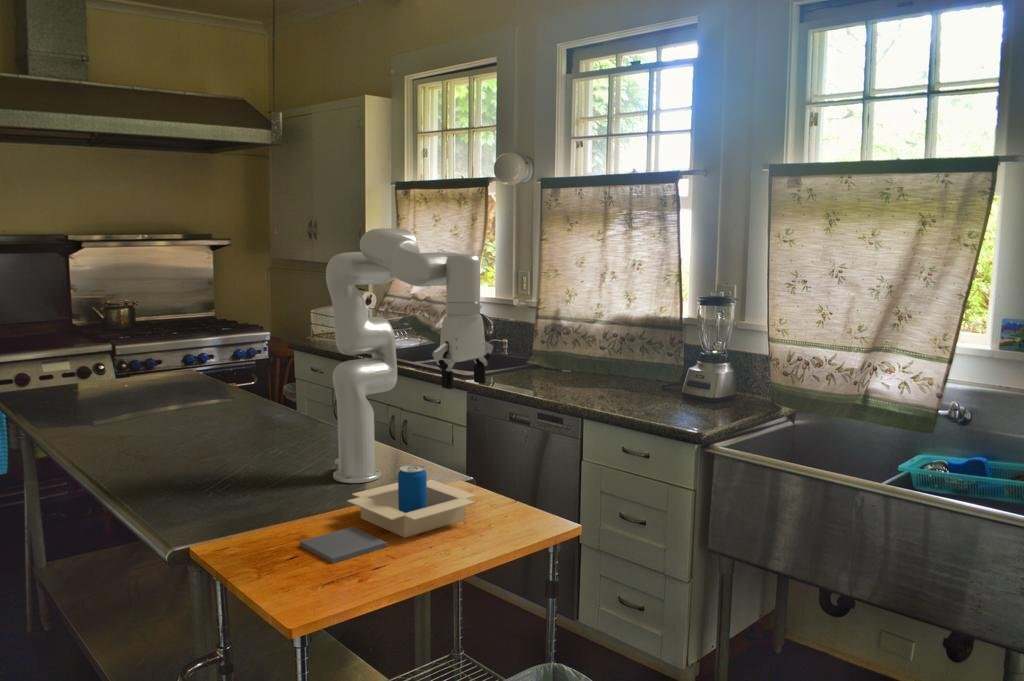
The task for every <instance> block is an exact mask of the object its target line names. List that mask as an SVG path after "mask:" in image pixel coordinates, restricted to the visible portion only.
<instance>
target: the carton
mask: <svg viewBox="0 0 1024 681" xmlns="http://www.w3.org/2000/svg"><path fill="white" fill-rule="evenodd" d="M351 495H352V496H354V497H355V498H352V499H348V500H346V501H347V503H350V504H352V505H353V506H354V505H355V506H357V507H359V508H360V519H362V520H365V521H366V522H369V523H371V524H373V525H376V526H378V527H380V528H382V529H385V530H387V531H389V532H391V533H394V534H395V535H399V536H401V537H403V538H407V537H408V538H409V537H412V536H414V535H417V534H421V533H425V532H428V531H432V530H434V529H438V528H442V527H445V526H448V525H451V524H454V523H455V524H456V523H458V522H463V521H465V520H466V507H468V506H470V505H474V504H476V501H473V500H471V499H472V498H476V497H477V496H478V495H477V494H474V493H471V492H469V491H466V490H463V489H460V488H458V487H454V486H452V485H448V484H445V483H443V482H440V481H437V480H434V479H429V480H427V507H426V508H422V509H418V510H415V511H411V512H407V513H404V512H402V511H399V505H398V482H395V483H390V484H387V485H382V486H378V487H374V488H370V489H366V490H362V491H358V492H354V493H351Z"/></svg>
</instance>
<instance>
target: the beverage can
mask: <svg viewBox="0 0 1024 681" xmlns="http://www.w3.org/2000/svg"><path fill="white" fill-rule="evenodd" d="M425 468H426V467H424V466H423V465H419V464H407V465H403V466H401V467H399V471H398V473H397V483H398V505H399V511H402V512H404V513H407V512H411V511H415V510H418V509H422V508H426V507H427V479H428V478H427V477H428V476H427V471H426V469H425Z"/></svg>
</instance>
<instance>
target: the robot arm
mask: <svg viewBox="0 0 1024 681" xmlns="http://www.w3.org/2000/svg"><path fill="white" fill-rule="evenodd" d="M359 249H360V251H351V252H350V251H349V252H341V253H338V254H335V255H334V256H332V257H331V258H330V259H329V261H328V263H327V265H326V269H325V281H326V285H327V289H328V291H329V292H328V293H329V295H330V299H331V303H332V313H333V314H332V315H333V325H334V327H333V328H334V337H335V345H336V348H337V351H338V352H340V354H342V355H346V356H347V355H348V356H352V355H353V356H355V355H363V354H371V357H369V358H360V359H359V358H357V359H350V360H345V361H343V362H340V363H339V364H337V365H336V366H335V368H334V369H333V372H332V384H333V389H334V393H335V400H336V407H337V408H336V409H337V410H336V411H337V412H336V413H337V414H336V415H337V438H338V442H337V443H338V458H336V459H335V460H334V464H336V465H338V466H337V470H335V471H334V472H333V473H332V474H333V476H332V478H333V480H335V481H336V482H340V483H343V484H344V483H345V484H361V483H362V484H363V483H368V482H373V481H376V480H378V479H379V478H381V477H382V476H381V475H382V471H381V470H380V469H379V468H377V467H376V458H375V457H376V455H375V454H376V452H375V451H376V449H375V445H376V444H375V412H374V409H373V408H374V407H372V405H371V403H370V402H369V400H368V398H367V396H368V395H372V394H379V393H384V392H385V393H386V392H389V391H390V390H393V389H394V387H395V386H396V384H397V382H398V364H397V363H398V362H397V361H398V360H397V350H396V337H395V332H394V329H393V327H392V324H391V323H390V321H389V320H388V319H386V318H384V317H382V316H372V317H371V316H370V317H368V315H367V308H366V300H365V298H364V296H363V295H362V293H361V291H360V290H359V289H358V288H357V287H356V286H361V285H365V286H366V285H367V286H368V285H384V284H388V283H390V282H392V281H394V280H395V278H396V280H398V281H400V282H402V283H405V284H408V285H409V286H410V285H411V286H413V287H438V286H439V287H440V286H445V287H446V290H445V291H446V294H445V295H446V296H445V297H446V299H445V300H446V315H445V316H443V318H442V323H441V330H440V342H439V347H437V348H436V349H435V350H434V351H432V355H431V356H432V358H433V360H434V362H435V365H436V366H437V367H438V370H440V371H441V387H442V388H443V389H448V390H453V389H454V371H453V370H452V369H453V368H454V365H455V364H456V363H461V362H466V361H467V362H468V361H473V362H474V363H475V364H473V382H475V383H476V384H477V383H478V384H486V367H487V366H488V365H489V364H488V363H489V362H488V361H490V359H491V356H492V352H493V349H494V345H493V344H492V343H489V342H488V341H487V340H486V339H485V338H486V337H485V327H484V321H483V316H482V314H481V310H482V309H483V304H482V303H481V261H480V257H479V256H477V254H473V253H472V254H470V253H469V254H468V253H456V252H452V251H450V252H447V251H446V252H445V251H444V252H439V251H437V252H420V247H419V244H418V241H417V238H416V236H415V235H414V233H413V232H412V231H410V230H408V229H407V228H397V227H396V228H389V227H387V228H383V227H382V228H373V229H370V230H368V231H366V232H365V233H364V234H363V235H362V236H361V239H360V240H359Z"/></svg>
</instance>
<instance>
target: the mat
mask: <svg viewBox="0 0 1024 681" xmlns="http://www.w3.org/2000/svg"><path fill="white" fill-rule="evenodd" d="M299 546H300V547H302V548H303V549H305V550H306V551H309V552H311V553H313V554H314V555H317V556H318V557H320V558H322V559H324V560H326V561H328V562H330V563H332V564H335V563H339V562H342V561H345V560H349V559H352V558H355V557H359V556H362V555H365V554H368V553H373V552H375V551H378V550H381V549H385V548H388V542H387V541H384V540H383V539H380V538H379V537H376V536H374V535H372V534H369V533H367V532H365V531H363V530H362V529H358V528H357V527H354V526H351V527H347V528H343V529H339V530H337V531H336V530H335V531H331V532H329V533H325V534H322V535H321V534H320V535H317V536H313V537H311V538H307V539H306V538H305V539H303V540H300V541H299Z"/></svg>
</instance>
